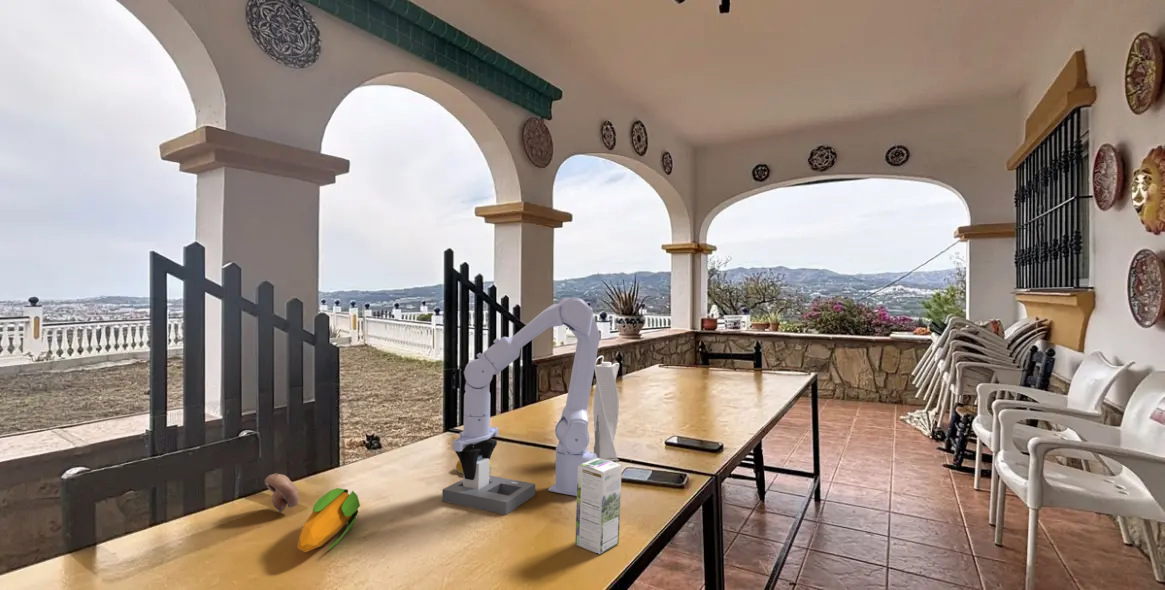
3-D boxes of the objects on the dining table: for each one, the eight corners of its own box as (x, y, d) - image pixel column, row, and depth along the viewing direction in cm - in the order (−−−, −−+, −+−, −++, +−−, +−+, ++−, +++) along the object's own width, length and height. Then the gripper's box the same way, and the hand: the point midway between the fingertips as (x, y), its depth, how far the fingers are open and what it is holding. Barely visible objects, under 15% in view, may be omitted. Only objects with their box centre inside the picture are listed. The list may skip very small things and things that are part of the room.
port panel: (535, 494, 117) (535, 483, 117) (506, 514, 106) (506, 501, 106) (475, 483, 123) (475, 472, 123) (442, 501, 112) (442, 488, 112)
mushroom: (264, 508, 106) (265, 469, 106) (298, 503, 109) (299, 465, 109) (262, 522, 100) (263, 480, 100) (298, 517, 103) (299, 476, 103)
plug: (488, 490, 117) (489, 455, 117) (478, 496, 113) (479, 460, 113) (473, 487, 118) (474, 452, 118) (462, 493, 115) (463, 457, 115)
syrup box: (594, 534, 97) (596, 456, 98) (620, 544, 94) (622, 463, 94) (574, 545, 93) (576, 463, 93) (601, 556, 89) (602, 470, 89)
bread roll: (474, 480, 126) (474, 463, 126) (450, 472, 132) (451, 456, 132) (499, 471, 133) (499, 455, 133) (476, 464, 138) (476, 449, 138)
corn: (366, 477, 104) (328, 519, 84) (368, 515, 104) (330, 567, 84) (327, 480, 103) (279, 524, 83) (328, 519, 103) (281, 572, 83)
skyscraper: (585, 454, 148) (587, 355, 148) (612, 452, 151) (613, 355, 151) (594, 463, 140) (596, 358, 140) (623, 461, 143) (624, 358, 143)
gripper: (480, 406, 124) (479, 464, 124) (441, 418, 111) (439, 483, 111) (506, 409, 121) (505, 468, 121) (468, 422, 108) (467, 488, 108)
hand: (475, 475), depth 116 cm, fingers closed on plug, 4 cm apart
